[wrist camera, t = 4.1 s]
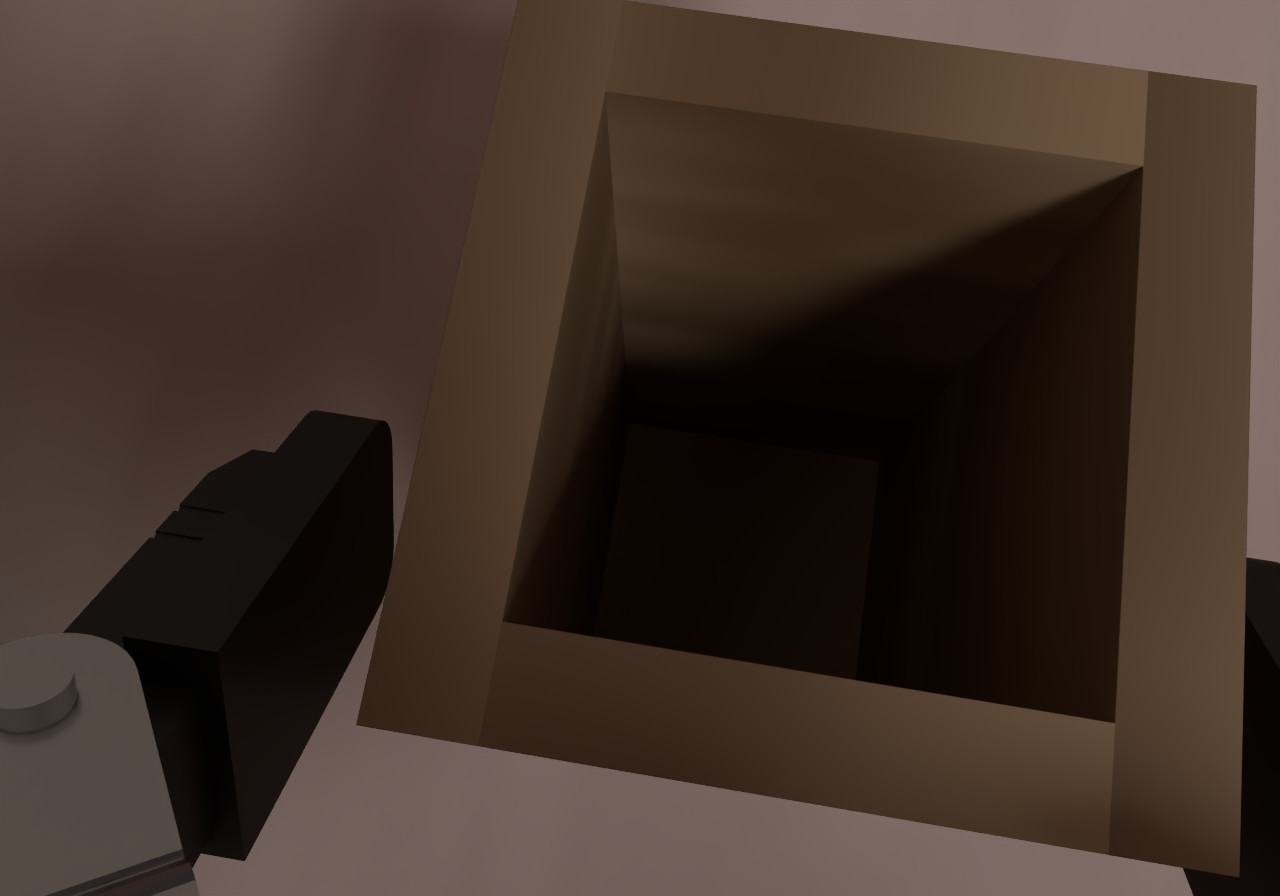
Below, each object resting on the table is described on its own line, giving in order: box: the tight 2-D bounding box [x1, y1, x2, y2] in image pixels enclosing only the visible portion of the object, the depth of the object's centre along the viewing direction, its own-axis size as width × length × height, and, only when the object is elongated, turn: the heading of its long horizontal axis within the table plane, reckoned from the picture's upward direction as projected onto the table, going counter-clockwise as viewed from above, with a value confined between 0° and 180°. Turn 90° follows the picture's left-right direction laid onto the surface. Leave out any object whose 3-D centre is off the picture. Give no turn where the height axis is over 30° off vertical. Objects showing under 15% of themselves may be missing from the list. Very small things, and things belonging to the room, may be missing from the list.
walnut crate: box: [356, 0, 1257, 877], centre depth 12 cm, size 6×6×10 cm
